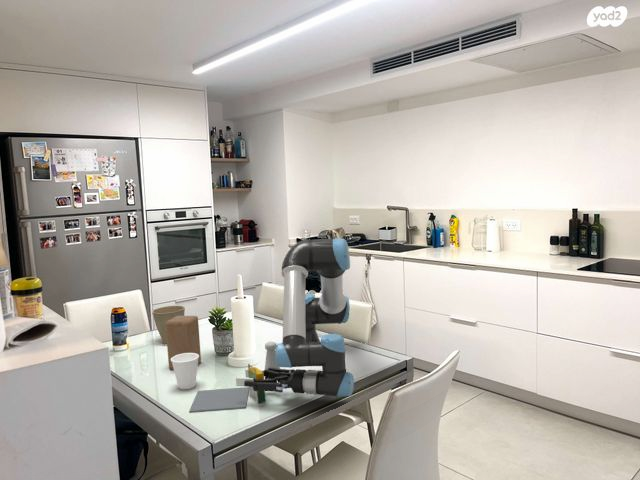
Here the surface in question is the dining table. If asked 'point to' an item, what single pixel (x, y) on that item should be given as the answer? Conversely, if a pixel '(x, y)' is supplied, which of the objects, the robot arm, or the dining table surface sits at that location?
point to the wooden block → (182, 337)
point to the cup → (185, 369)
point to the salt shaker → (270, 355)
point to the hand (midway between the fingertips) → (241, 377)
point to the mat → (220, 399)
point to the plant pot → (166, 318)
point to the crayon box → (258, 375)
